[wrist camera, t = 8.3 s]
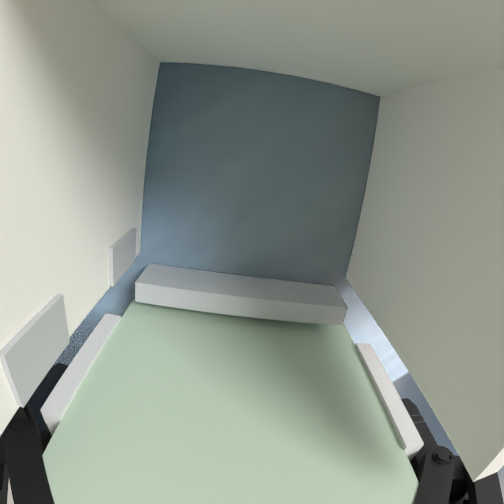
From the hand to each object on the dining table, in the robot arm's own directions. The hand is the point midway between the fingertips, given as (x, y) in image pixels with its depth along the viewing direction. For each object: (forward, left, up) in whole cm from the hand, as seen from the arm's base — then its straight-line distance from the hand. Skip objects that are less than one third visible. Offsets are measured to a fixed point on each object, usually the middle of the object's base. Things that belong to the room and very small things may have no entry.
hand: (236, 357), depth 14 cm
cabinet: (0, +6, -3) cm, 7 cm away
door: (0, 0, -2) cm, 2 cm away
